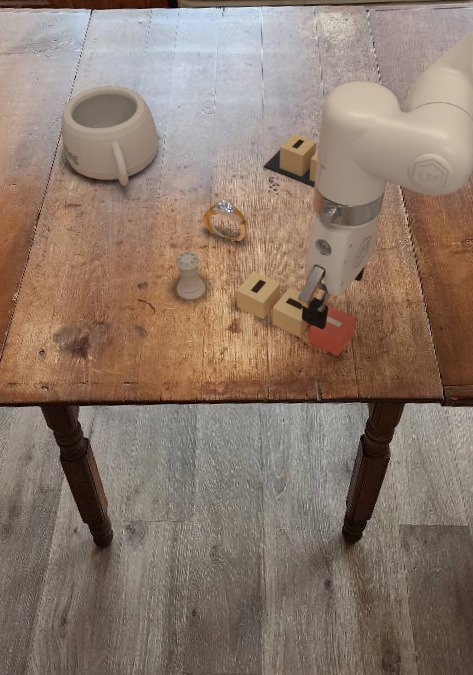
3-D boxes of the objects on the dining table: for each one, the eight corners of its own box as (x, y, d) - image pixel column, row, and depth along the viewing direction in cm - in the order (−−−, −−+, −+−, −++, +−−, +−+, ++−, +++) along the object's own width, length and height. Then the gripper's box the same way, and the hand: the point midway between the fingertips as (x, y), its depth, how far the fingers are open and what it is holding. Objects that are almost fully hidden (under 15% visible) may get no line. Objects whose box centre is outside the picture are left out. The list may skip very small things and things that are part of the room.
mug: (61, 139, 126) (47, 91, 119) (148, 120, 129) (141, 72, 121) (80, 212, 114) (66, 163, 106) (176, 190, 116) (170, 141, 109)
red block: (352, 338, 95) (356, 317, 91) (337, 360, 93) (340, 339, 89) (324, 325, 97) (327, 303, 93) (308, 346, 94) (310, 325, 91)
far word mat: (382, 187, 115) (386, 163, 111) (365, 207, 112) (369, 183, 108) (281, 149, 122) (282, 125, 119) (263, 167, 120) (263, 143, 116)
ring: (250, 242, 108) (249, 204, 102) (240, 255, 106) (238, 217, 100) (212, 228, 110) (209, 190, 104) (202, 241, 109) (198, 202, 102)
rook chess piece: (195, 279, 103) (191, 241, 97) (212, 296, 101) (209, 258, 95) (171, 292, 102) (165, 254, 96) (187, 310, 100) (182, 273, 93)
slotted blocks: (359, 338, 95) (363, 316, 91) (339, 368, 92) (342, 346, 89) (241, 282, 103) (240, 259, 99) (219, 308, 100) (217, 285, 96)
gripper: (340, 257, 68) (324, 357, 82) (413, 166, 77) (388, 269, 91) (276, 229, 71) (272, 330, 85) (354, 143, 80) (339, 247, 93)
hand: (332, 298), depth 88 cm, fingers open, 9 cm apart
